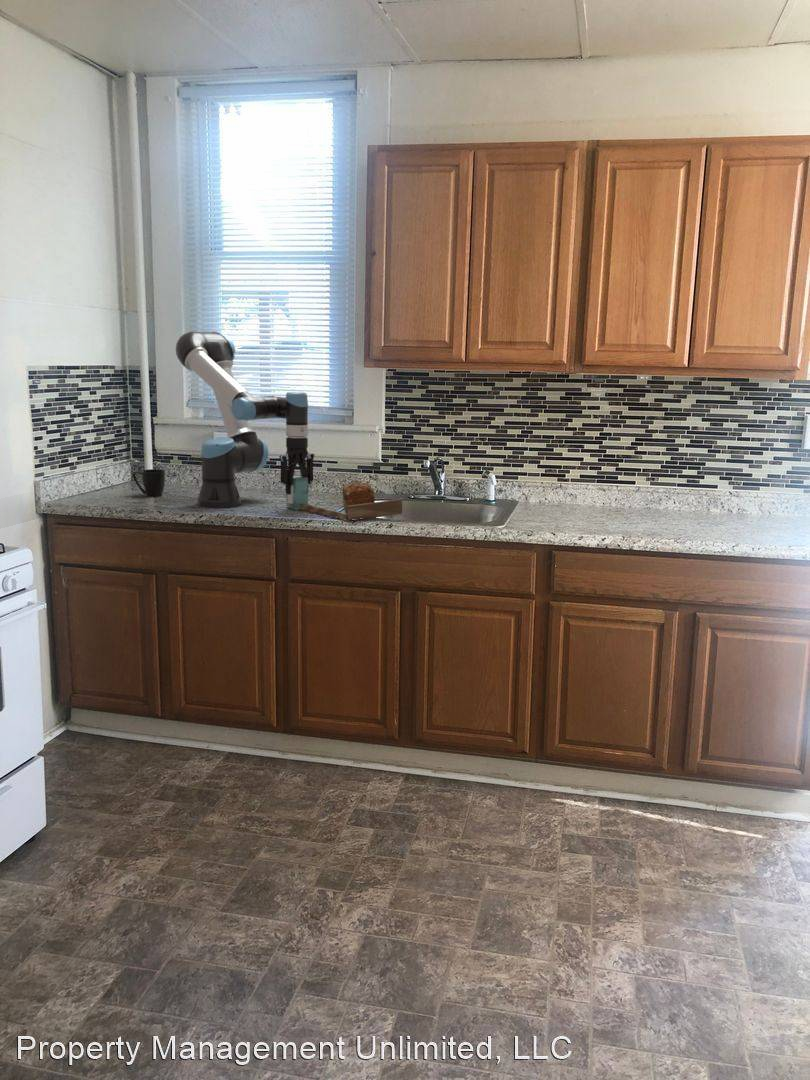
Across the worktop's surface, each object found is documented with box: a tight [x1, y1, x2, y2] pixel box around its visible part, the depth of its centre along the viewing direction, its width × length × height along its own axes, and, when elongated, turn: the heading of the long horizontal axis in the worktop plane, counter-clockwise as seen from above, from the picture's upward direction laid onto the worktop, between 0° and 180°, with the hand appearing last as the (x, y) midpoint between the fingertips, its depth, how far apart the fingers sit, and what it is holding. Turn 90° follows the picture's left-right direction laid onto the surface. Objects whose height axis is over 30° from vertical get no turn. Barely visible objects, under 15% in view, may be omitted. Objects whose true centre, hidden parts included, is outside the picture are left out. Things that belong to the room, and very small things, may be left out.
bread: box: [342, 481, 376, 514], centre depth 323 cm, size 19×11×10 cm, turn 6°
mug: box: [132, 468, 166, 498], centre depth 345 cm, size 8×12×10 cm
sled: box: [285, 475, 403, 521], centre depth 320 cm, size 33×26×11 cm
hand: (297, 502), depth 324 cm, fingers closed on sled, 5 cm apart
